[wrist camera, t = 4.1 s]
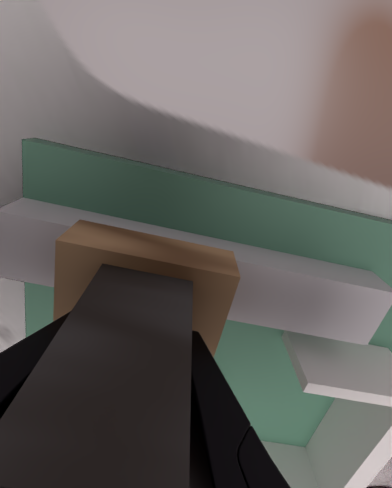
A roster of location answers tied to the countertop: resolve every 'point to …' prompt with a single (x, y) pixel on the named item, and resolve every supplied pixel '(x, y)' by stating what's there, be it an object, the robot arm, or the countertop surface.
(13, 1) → the countertop surface
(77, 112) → the countertop surface
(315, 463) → the board
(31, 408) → the multicolored block structure
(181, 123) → the countertop surface
